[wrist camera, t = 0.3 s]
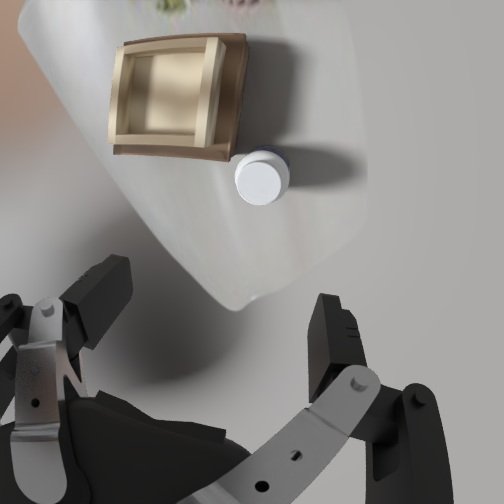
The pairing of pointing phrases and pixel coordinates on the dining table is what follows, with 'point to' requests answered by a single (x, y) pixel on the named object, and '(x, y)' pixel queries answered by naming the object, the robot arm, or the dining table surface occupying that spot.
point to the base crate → (226, 109)
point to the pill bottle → (263, 175)
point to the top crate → (166, 92)
